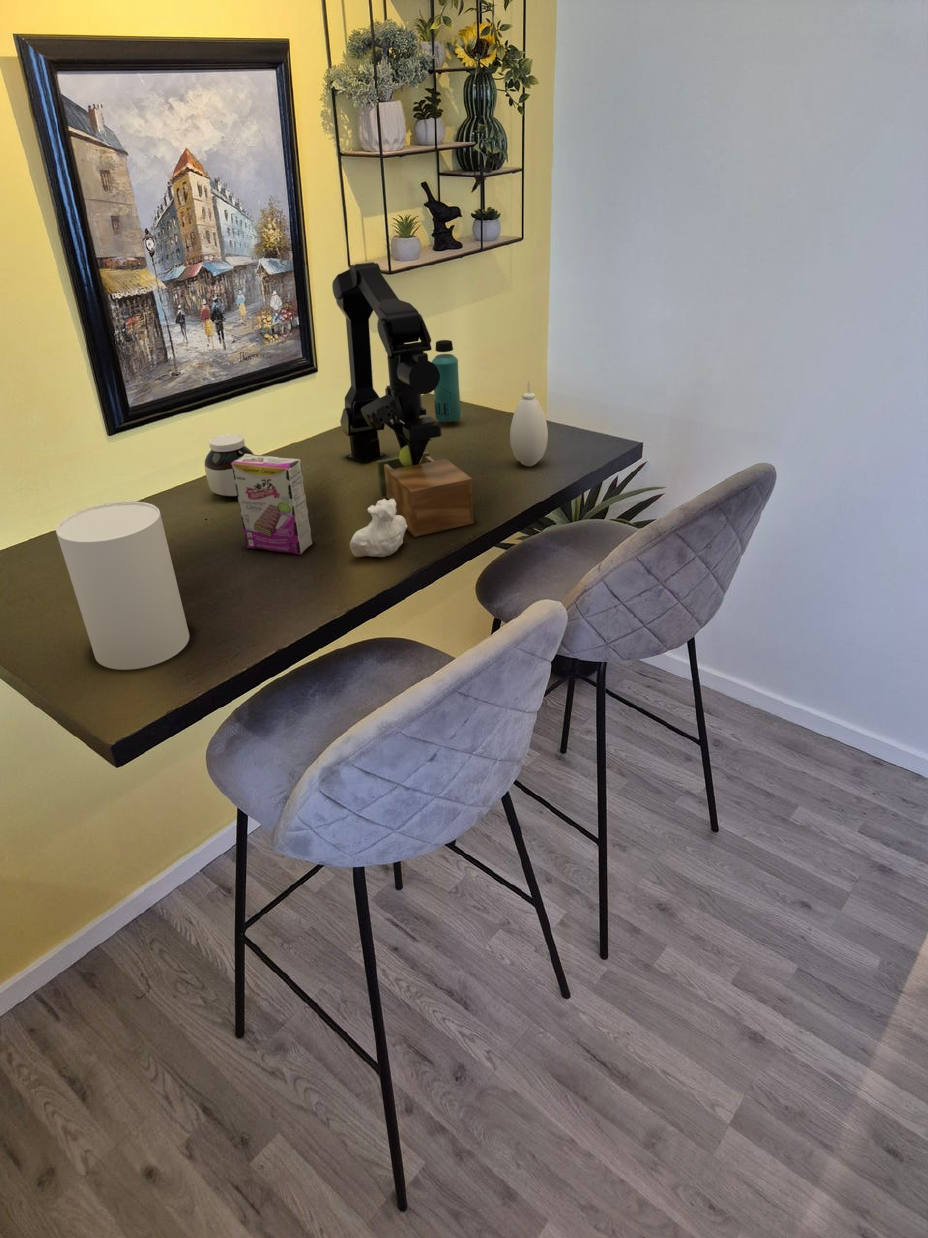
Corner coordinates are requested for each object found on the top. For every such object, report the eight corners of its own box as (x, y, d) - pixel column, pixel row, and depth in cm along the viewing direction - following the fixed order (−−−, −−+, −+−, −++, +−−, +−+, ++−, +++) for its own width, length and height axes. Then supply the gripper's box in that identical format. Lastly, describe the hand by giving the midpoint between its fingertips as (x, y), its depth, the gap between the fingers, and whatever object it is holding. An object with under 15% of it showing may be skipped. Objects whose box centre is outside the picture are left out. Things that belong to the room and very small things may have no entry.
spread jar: (223, 506, 173) (212, 450, 167) (197, 491, 181) (186, 437, 175) (275, 489, 180) (266, 435, 174) (248, 475, 187) (239, 423, 181)
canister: (131, 616, 136) (98, 498, 126) (206, 626, 132) (179, 505, 122) (74, 663, 125) (33, 537, 115) (155, 675, 121) (120, 546, 111)
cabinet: (391, 514, 166) (387, 470, 162) (448, 501, 170) (446, 458, 166) (414, 537, 157) (410, 491, 152) (473, 523, 161) (472, 478, 156)
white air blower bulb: (553, 461, 187) (554, 378, 178) (536, 473, 181) (536, 388, 172) (522, 456, 191) (521, 374, 181) (504, 467, 185) (502, 383, 176)
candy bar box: (245, 549, 155) (229, 462, 147) (260, 537, 159) (244, 452, 151) (301, 556, 152) (287, 467, 144) (314, 544, 156) (301, 457, 148)
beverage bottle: (462, 419, 215) (459, 337, 205) (460, 428, 209) (456, 343, 199) (436, 419, 216) (432, 337, 205) (433, 428, 210) (428, 344, 200)
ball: (395, 468, 167) (393, 446, 165) (412, 461, 170) (410, 440, 167) (410, 473, 164) (408, 450, 162) (427, 466, 167) (426, 444, 165)
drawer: (378, 493, 173) (374, 458, 170) (427, 483, 177) (425, 449, 173) (399, 514, 164) (396, 478, 160) (450, 503, 167) (449, 467, 164)
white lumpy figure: (358, 576, 149) (378, 540, 140) (333, 542, 151) (352, 504, 142) (409, 552, 156) (432, 517, 147) (386, 520, 158) (407, 483, 149)
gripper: (347, 376, 163) (356, 455, 171) (380, 400, 148) (388, 485, 156) (402, 367, 167) (408, 445, 175) (440, 390, 152) (445, 474, 160)
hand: (411, 462), depth 166 cm, fingers closed on ball, 4 cm apart
